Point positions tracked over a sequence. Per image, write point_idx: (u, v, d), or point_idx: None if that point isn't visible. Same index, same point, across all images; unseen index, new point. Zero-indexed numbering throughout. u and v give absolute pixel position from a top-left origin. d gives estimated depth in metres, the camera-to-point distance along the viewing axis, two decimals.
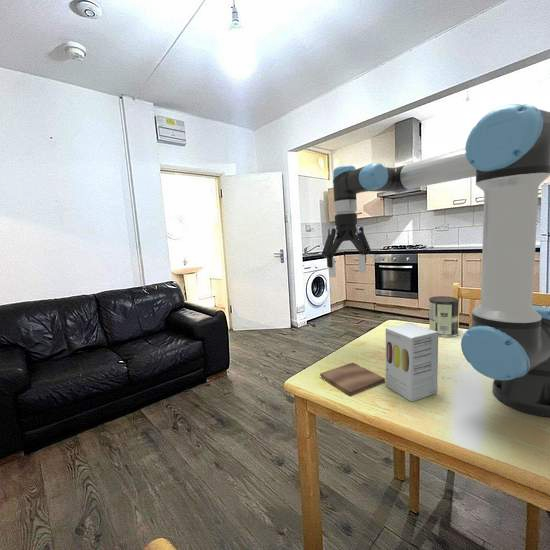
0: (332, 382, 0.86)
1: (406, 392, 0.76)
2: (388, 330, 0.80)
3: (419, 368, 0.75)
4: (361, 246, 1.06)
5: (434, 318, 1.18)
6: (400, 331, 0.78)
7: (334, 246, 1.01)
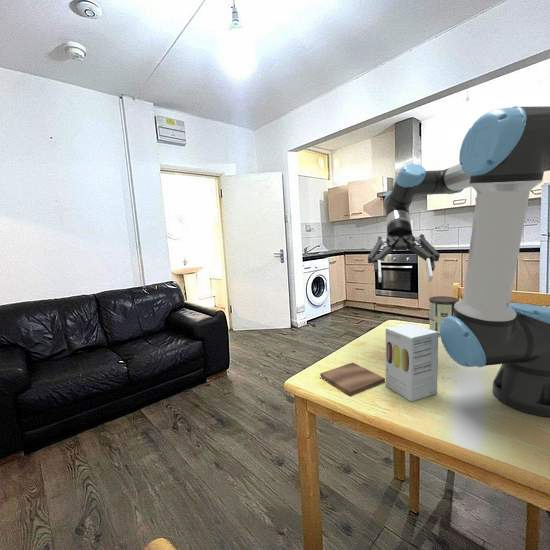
0: (332, 382, 0.86)
1: (406, 392, 0.76)
2: (388, 330, 0.80)
3: (419, 368, 0.75)
4: (422, 250, 0.90)
5: (434, 318, 1.18)
6: (400, 331, 0.78)
7: None
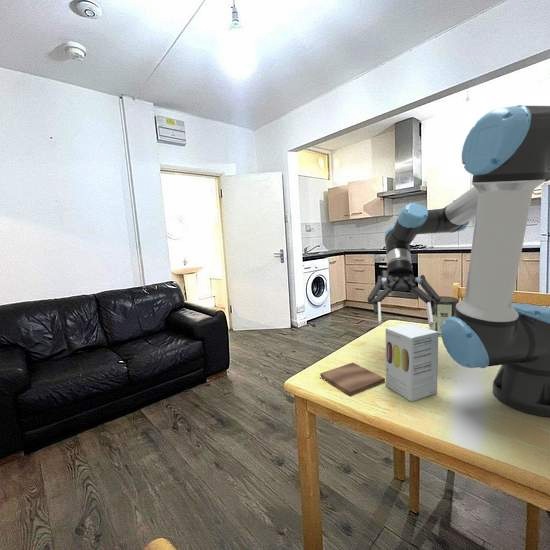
0: (332, 382, 0.86)
1: (406, 392, 0.76)
2: (388, 330, 0.80)
3: (419, 368, 0.75)
4: (423, 293, 0.89)
5: (434, 318, 1.18)
6: (400, 331, 0.78)
7: None
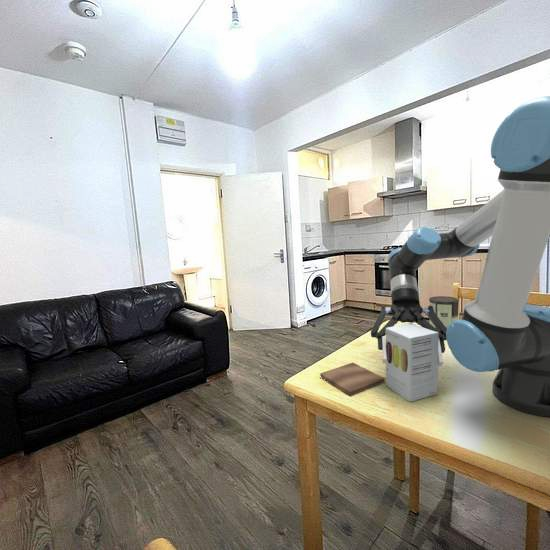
0: (332, 382, 0.86)
1: (405, 392, 0.76)
2: (388, 330, 0.80)
3: (418, 369, 0.74)
4: (431, 327, 0.80)
5: None
6: (399, 331, 0.78)
7: None
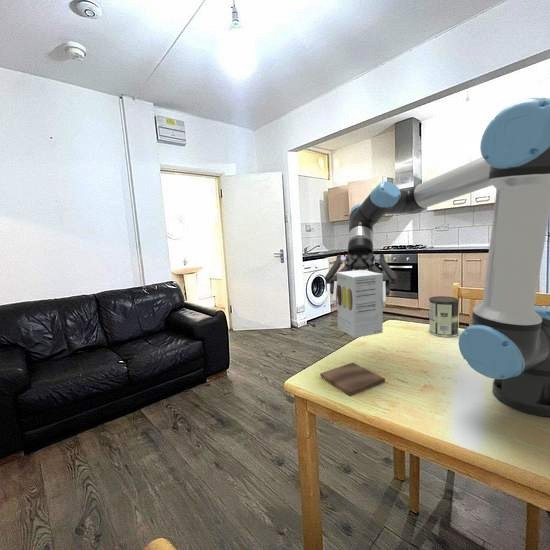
0: (332, 382, 0.86)
1: (351, 329, 0.81)
2: (338, 274, 0.85)
3: (362, 307, 0.80)
4: (379, 272, 0.85)
5: (434, 318, 1.18)
6: (347, 273, 0.83)
7: None
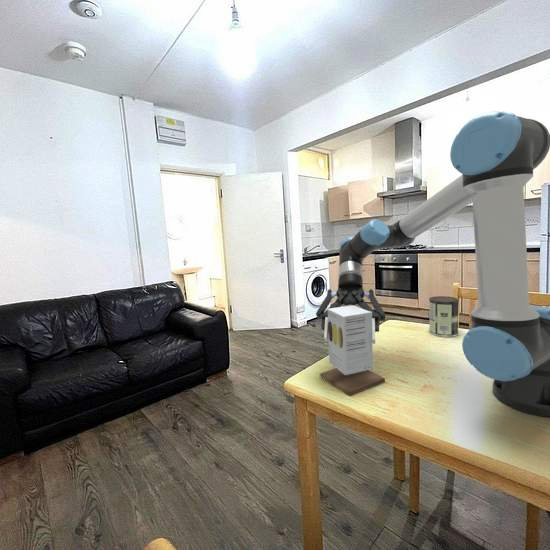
0: (332, 382, 0.86)
1: (342, 366, 0.83)
2: (329, 311, 0.87)
3: (352, 345, 0.81)
4: (369, 309, 0.87)
5: (434, 318, 1.18)
6: (338, 311, 0.85)
7: None
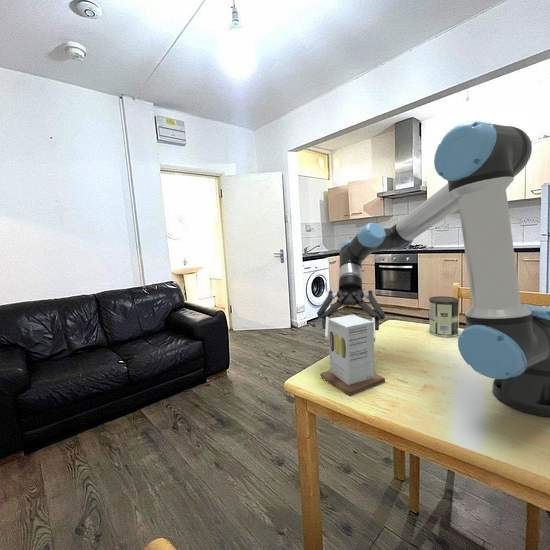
0: (332, 382, 0.86)
1: (344, 377, 0.83)
2: (330, 321, 0.87)
3: (355, 355, 0.82)
4: (369, 309, 0.91)
5: (434, 318, 1.18)
6: (339, 321, 0.85)
7: None
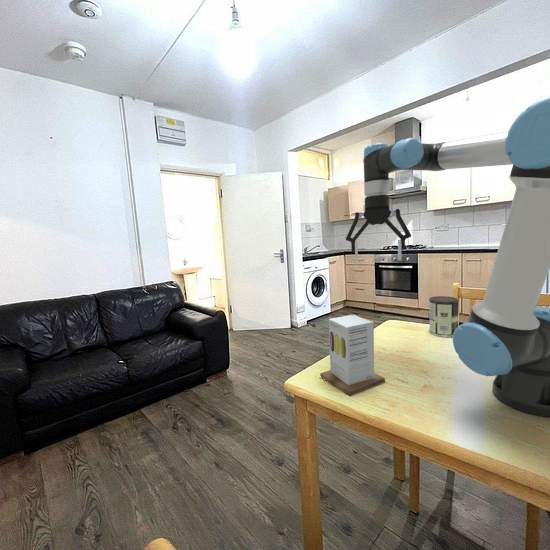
0: (332, 382, 0.86)
1: (344, 377, 0.83)
2: (330, 321, 0.87)
3: (355, 355, 0.82)
4: (396, 230, 0.96)
5: (434, 318, 1.18)
6: (340, 321, 0.85)
7: None
